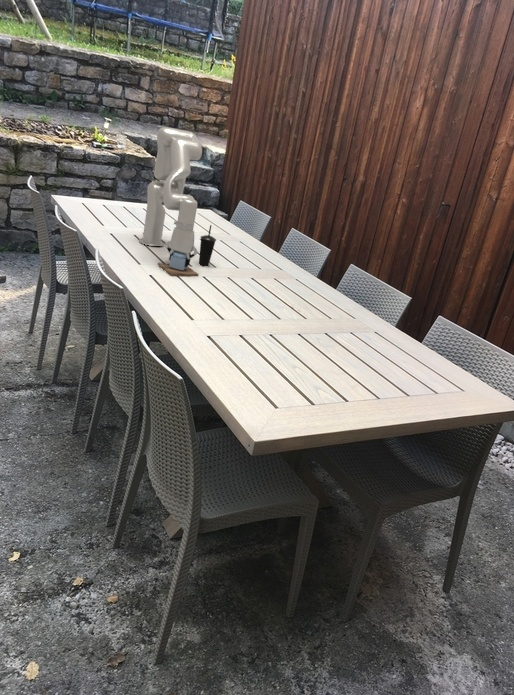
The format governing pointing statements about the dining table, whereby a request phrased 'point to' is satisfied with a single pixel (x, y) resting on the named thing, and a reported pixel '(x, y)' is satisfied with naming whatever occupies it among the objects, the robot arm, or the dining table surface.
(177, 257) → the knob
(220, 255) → the dining table surface
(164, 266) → the board
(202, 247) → the drinking cup
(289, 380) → the dining table surface
